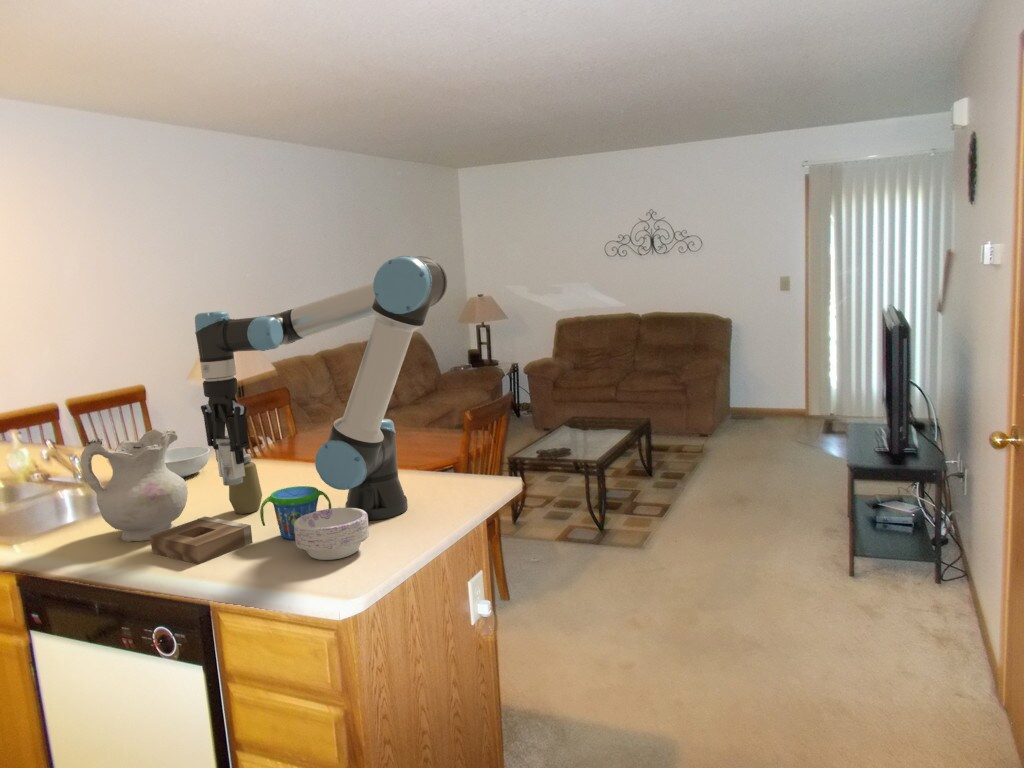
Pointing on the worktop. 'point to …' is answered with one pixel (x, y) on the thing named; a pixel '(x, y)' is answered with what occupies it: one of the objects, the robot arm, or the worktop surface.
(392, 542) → the worktop surface
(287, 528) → the snack cup
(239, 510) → the squeeze bottle
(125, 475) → the ceramic pitcher
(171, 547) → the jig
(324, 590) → the worktop surface
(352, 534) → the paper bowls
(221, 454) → the metal capped cylinder
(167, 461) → the serving bowl
